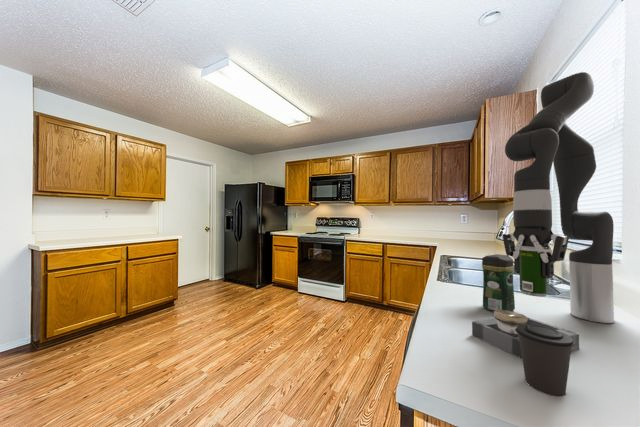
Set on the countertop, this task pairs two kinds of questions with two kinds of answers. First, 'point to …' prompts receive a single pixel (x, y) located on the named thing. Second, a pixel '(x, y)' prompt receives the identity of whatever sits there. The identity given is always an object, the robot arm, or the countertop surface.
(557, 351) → the coffee cup
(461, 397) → the countertop surface
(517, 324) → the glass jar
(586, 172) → the robot arm
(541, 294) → the green metal cylinder
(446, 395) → the countertop surface
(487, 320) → the grey rectangular frame
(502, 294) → the coffee jar
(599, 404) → the countertop surface
